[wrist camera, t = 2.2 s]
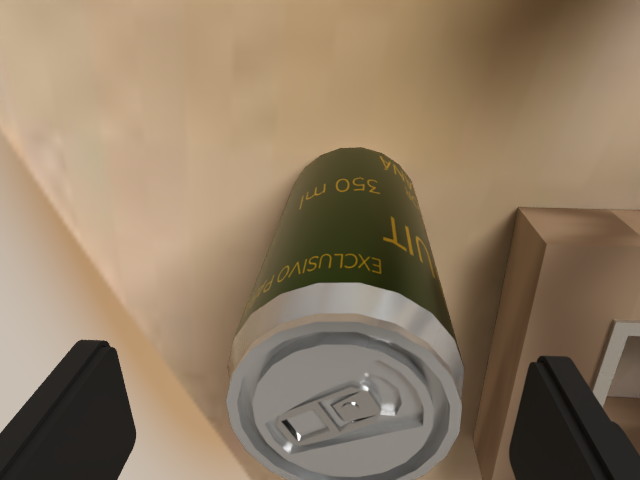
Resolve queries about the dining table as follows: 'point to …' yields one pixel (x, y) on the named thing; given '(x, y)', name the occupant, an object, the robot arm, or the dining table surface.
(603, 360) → the jig bore mouth
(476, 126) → the dining table surface
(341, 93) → the dining table surface
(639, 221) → the block
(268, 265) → the beer can
